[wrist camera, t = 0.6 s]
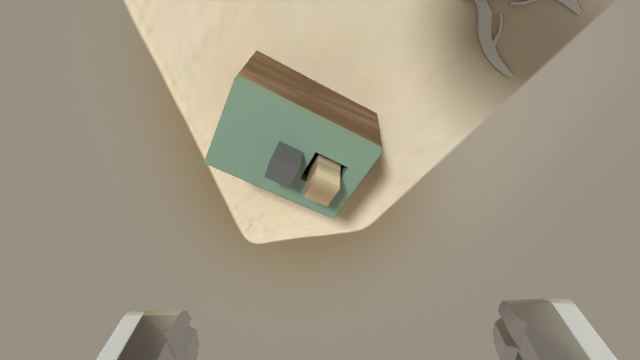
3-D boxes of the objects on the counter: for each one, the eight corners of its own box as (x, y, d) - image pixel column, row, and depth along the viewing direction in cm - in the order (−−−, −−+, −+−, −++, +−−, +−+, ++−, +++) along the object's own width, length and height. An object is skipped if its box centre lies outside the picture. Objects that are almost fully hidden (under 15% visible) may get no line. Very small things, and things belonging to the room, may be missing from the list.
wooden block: (323, 123, 47) (315, 177, 37) (341, 132, 48) (339, 188, 38) (313, 139, 49) (303, 196, 39) (331, 148, 50) (327, 206, 39)
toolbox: (256, 50, 43) (237, 74, 36) (376, 113, 47) (381, 146, 40) (227, 124, 50) (207, 157, 43) (335, 174, 54) (333, 212, 46)
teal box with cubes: (240, 71, 37) (224, 91, 32) (381, 142, 41) (384, 169, 36) (209, 153, 43) (193, 179, 39) (333, 207, 47) (331, 237, 43)
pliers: (510, 81, 42) (423, 2, 38) (505, 77, 43) (420, -1, 39) (588, 10, 37) (498, -92, 32) (580, 7, 38) (493, -91, 34)
